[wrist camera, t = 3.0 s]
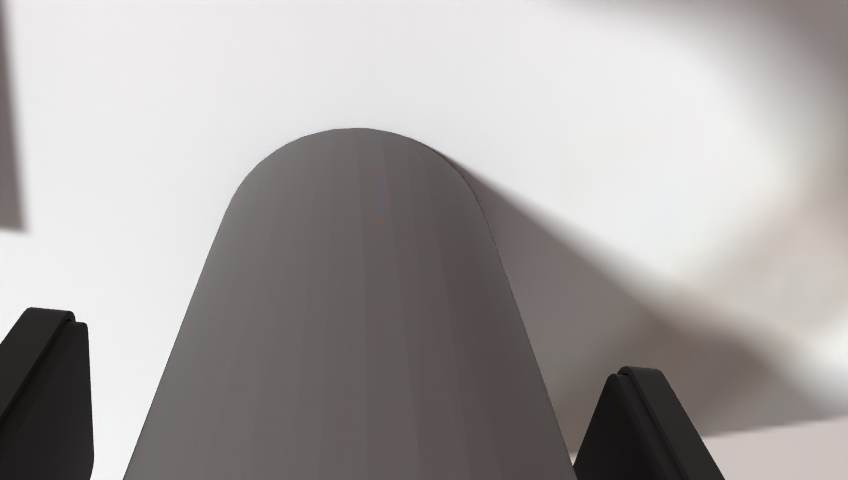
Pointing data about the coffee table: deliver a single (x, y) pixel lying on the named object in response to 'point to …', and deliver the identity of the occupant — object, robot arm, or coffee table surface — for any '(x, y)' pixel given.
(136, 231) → the coffee table surface
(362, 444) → the bottle
